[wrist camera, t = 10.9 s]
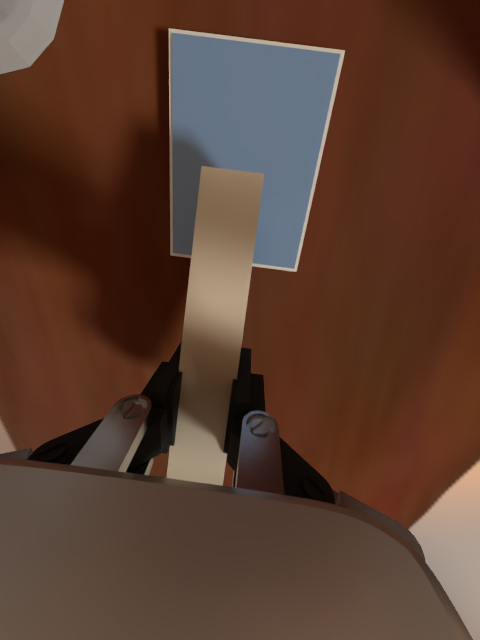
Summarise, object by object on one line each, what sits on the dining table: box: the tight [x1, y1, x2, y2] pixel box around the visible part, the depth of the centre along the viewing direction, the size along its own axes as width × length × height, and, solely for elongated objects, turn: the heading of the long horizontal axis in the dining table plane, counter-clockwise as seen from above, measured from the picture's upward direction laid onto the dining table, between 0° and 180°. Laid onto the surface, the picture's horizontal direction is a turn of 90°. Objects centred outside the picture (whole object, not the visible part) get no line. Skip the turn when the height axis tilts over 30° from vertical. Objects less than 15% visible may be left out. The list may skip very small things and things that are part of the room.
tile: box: [169, 28, 345, 272], centre depth 13 cm, size 2×8×10 cm
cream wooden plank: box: [167, 166, 264, 486], centre depth 11 cm, size 16×2×4 cm, turn 173°
